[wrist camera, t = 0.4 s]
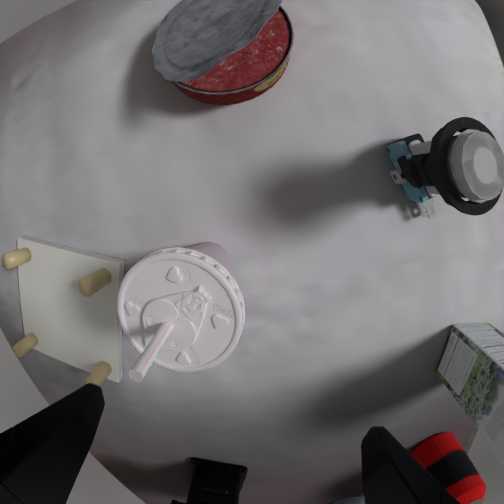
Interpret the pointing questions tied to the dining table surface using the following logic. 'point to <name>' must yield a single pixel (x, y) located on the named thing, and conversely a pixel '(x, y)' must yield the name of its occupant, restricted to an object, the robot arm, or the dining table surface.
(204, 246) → the smoothie
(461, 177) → the push button
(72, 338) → the pin plate
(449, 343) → the syrup box
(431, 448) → the soda can
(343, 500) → the teal cylindrical pot
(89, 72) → the dining table surface
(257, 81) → the canned food
